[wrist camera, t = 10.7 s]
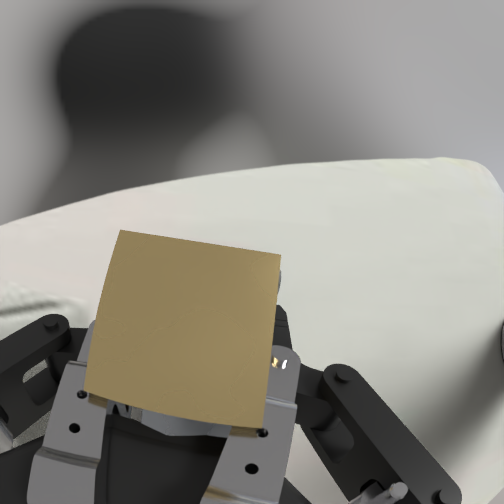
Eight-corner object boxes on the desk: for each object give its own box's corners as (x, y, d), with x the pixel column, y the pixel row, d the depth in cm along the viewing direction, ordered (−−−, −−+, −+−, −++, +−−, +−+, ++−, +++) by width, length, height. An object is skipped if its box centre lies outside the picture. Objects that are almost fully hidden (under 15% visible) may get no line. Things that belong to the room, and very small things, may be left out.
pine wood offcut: (240, 330, 17) (280, 254, 6) (232, 387, 16) (261, 428, 5) (182, 320, 17) (120, 229, 6) (173, 377, 15) (83, 390, 4)
